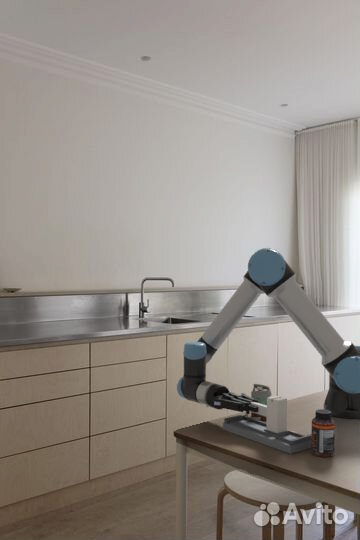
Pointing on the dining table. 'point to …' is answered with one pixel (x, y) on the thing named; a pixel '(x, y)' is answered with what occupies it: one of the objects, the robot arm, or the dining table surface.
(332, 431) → the supplement bottle
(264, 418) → the food container
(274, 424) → the fader tab
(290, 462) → the dining table surface
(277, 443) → the board
